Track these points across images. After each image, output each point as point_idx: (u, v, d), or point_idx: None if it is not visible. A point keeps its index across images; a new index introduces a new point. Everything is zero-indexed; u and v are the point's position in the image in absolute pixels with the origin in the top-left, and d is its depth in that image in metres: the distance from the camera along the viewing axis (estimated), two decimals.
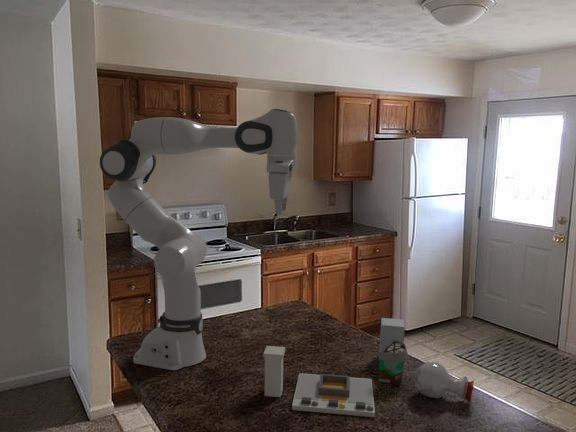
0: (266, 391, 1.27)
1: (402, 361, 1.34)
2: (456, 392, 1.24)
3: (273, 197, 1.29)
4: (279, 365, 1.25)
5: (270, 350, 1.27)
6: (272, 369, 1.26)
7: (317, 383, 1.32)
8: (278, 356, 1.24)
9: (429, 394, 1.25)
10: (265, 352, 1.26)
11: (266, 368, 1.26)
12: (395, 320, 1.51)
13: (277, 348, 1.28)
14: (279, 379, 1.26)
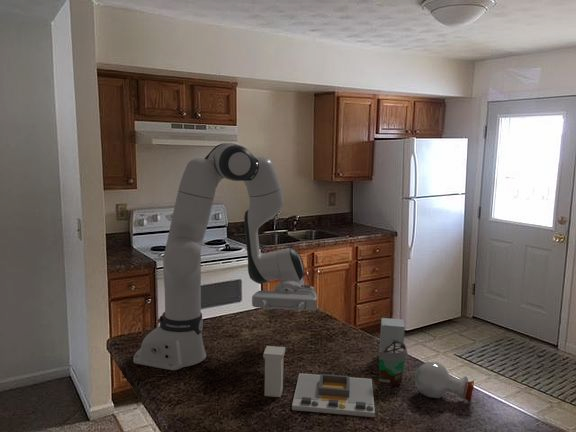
0: (266, 391, 1.27)
1: (402, 361, 1.34)
2: (456, 392, 1.24)
3: (316, 302, 1.42)
4: (279, 365, 1.25)
5: (271, 350, 1.27)
6: (272, 369, 1.26)
7: (317, 383, 1.32)
8: (278, 356, 1.24)
9: (429, 394, 1.25)
10: (265, 352, 1.26)
11: (266, 368, 1.26)
12: (395, 320, 1.51)
13: (277, 348, 1.28)
14: (279, 379, 1.26)
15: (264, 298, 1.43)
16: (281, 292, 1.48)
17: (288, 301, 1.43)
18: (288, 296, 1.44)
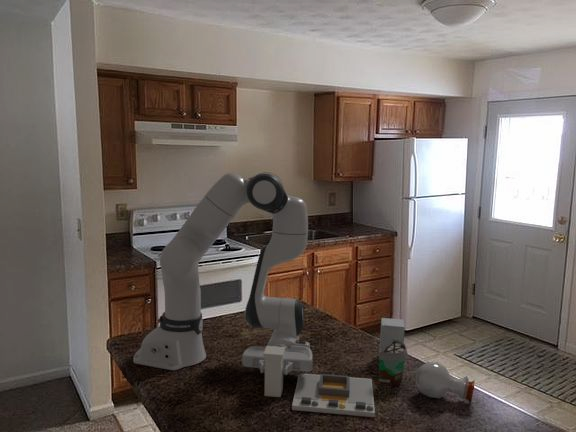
0: (266, 391, 1.27)
1: (402, 361, 1.34)
2: (457, 392, 1.24)
3: (311, 362, 1.31)
4: (279, 365, 1.25)
5: (270, 350, 1.27)
6: (272, 369, 1.26)
7: (317, 383, 1.32)
8: (277, 356, 1.24)
9: (430, 394, 1.25)
10: (265, 352, 1.26)
11: (266, 368, 1.26)
12: (395, 320, 1.51)
13: (277, 348, 1.28)
14: (279, 379, 1.26)
15: (255, 357, 1.32)
16: None
17: None
18: None
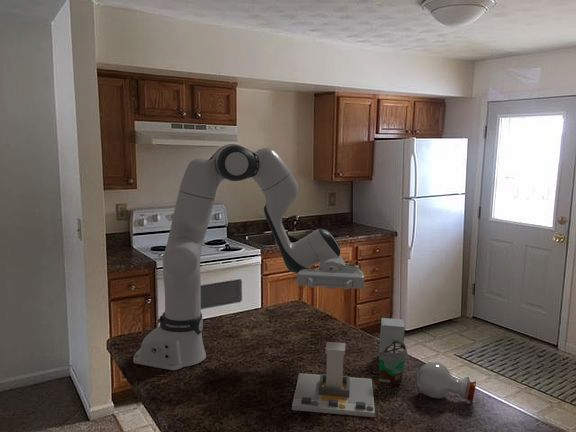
0: None
1: (402, 361, 1.34)
2: (458, 392, 1.24)
3: (363, 280, 1.38)
4: (341, 361, 1.25)
5: (332, 346, 1.27)
6: (334, 365, 1.26)
7: (317, 383, 1.32)
8: (340, 352, 1.25)
9: (431, 394, 1.25)
10: (327, 348, 1.26)
11: (328, 364, 1.26)
12: (395, 320, 1.51)
13: (338, 344, 1.29)
14: (341, 375, 1.26)
15: (310, 276, 1.39)
16: (326, 270, 1.44)
17: (334, 279, 1.39)
18: (334, 274, 1.40)
